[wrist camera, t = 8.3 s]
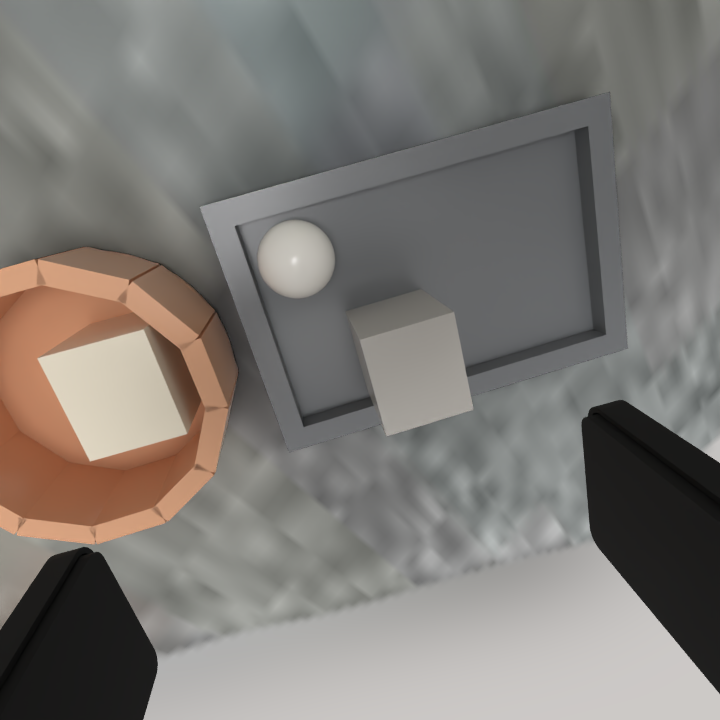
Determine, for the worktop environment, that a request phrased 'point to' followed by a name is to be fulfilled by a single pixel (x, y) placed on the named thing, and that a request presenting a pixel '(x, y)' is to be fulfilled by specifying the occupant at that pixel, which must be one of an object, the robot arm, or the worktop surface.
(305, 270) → the pebble
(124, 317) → the cream cube
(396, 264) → the tray
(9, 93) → the worktop surface
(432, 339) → the grey sharp-edged block
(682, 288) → the worktop surface
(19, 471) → the bowl
